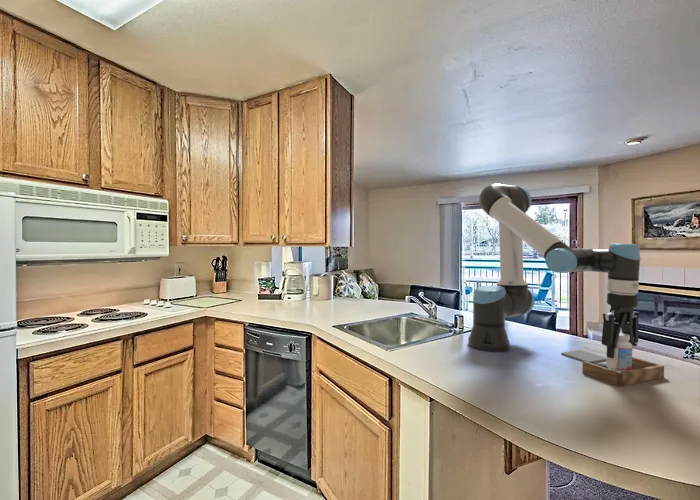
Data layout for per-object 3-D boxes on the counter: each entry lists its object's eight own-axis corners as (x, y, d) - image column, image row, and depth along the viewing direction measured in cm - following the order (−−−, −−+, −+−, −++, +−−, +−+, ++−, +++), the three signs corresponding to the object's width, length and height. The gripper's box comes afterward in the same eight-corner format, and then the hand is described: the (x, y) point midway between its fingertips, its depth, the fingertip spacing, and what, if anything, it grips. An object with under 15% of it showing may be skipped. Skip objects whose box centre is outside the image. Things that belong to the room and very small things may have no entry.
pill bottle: (633, 374, 102) (634, 338, 102) (607, 370, 106) (609, 334, 105) (629, 368, 108) (631, 333, 107) (605, 364, 111) (607, 330, 110)
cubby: (620, 386, 97) (620, 374, 97) (582, 372, 107) (582, 361, 107) (663, 377, 104) (664, 365, 104) (624, 365, 114) (624, 354, 114)
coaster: (588, 363, 115) (588, 361, 115) (561, 354, 125) (561, 352, 125) (608, 360, 119) (608, 358, 119) (580, 351, 128) (580, 349, 128)
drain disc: (604, 368, 111) (604, 368, 111) (591, 364, 115) (591, 363, 115) (612, 367, 112) (612, 366, 112) (599, 363, 116) (599, 362, 116)
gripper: (614, 296, 99) (611, 375, 100) (656, 293, 105) (652, 367, 106) (588, 292, 106) (585, 365, 107) (629, 290, 112) (625, 359, 113)
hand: (618, 366), depth 107 cm, fingers closed on pill bottle, 6 cm apart
